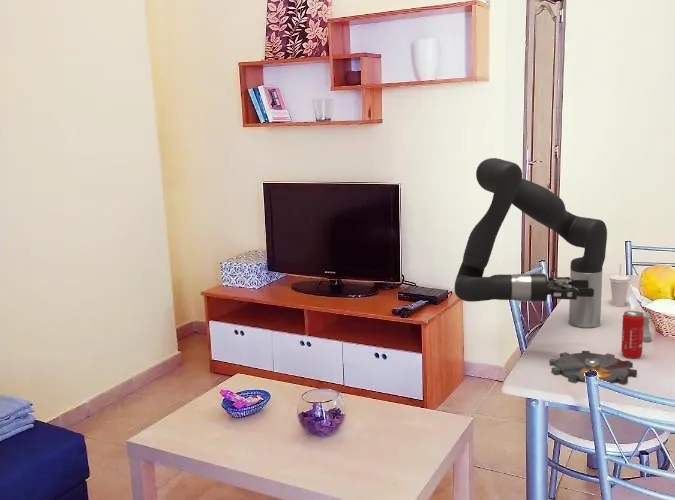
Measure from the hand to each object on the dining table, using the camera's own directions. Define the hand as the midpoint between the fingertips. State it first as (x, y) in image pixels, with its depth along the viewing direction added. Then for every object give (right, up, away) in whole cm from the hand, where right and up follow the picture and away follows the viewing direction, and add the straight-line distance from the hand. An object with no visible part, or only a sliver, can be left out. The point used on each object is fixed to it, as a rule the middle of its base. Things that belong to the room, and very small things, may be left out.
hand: (590, 288), depth 183 cm
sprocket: (-2, -21, -6) cm, 22 cm away
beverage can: (+12, -19, +2) cm, 22 cm away
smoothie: (+26, -8, +46) cm, 54 cm away
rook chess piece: (+20, -16, +13) cm, 29 cm away
